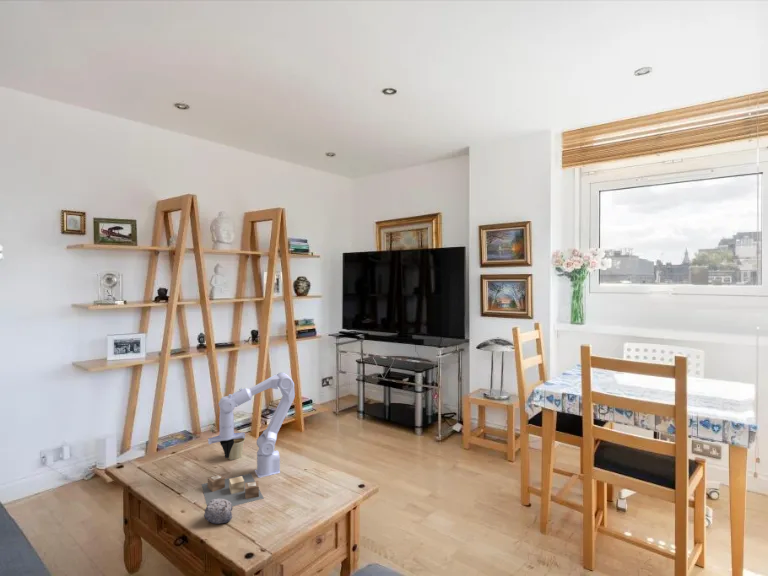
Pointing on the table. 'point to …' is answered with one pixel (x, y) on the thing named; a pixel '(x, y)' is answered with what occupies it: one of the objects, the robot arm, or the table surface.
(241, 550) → the table surface
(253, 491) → the walnut block
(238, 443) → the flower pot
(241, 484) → the plain block
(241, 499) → the slate mat
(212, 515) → the pumice stone
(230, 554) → the table surface
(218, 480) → the walnut block
